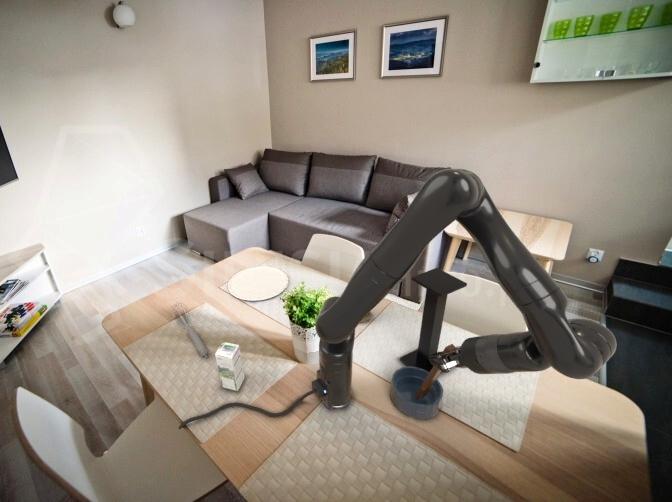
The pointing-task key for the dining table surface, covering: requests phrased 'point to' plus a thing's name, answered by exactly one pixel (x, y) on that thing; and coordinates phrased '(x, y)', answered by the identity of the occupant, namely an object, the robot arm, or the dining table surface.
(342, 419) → the dining table surface
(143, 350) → the dining table surface
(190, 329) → the kitchen whisk
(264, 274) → the plate
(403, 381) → the bowl
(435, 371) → the stirring paddle
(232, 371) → the syrup box
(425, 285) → the stand
